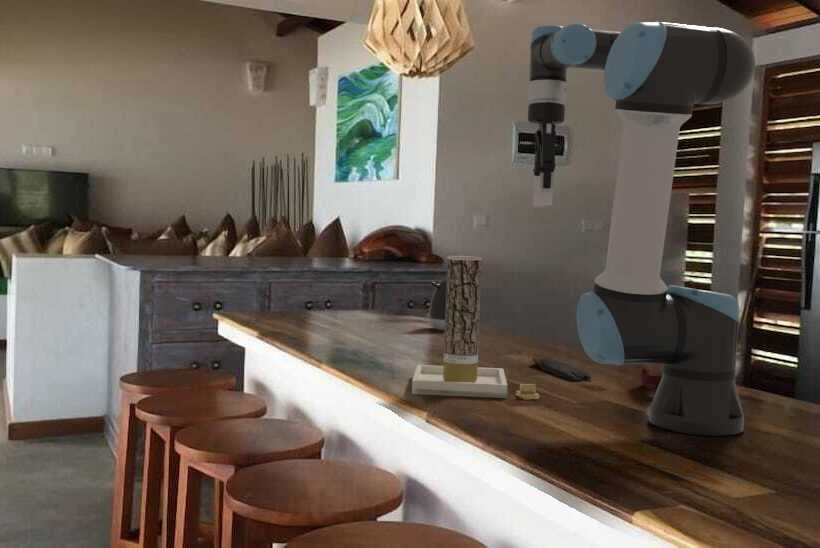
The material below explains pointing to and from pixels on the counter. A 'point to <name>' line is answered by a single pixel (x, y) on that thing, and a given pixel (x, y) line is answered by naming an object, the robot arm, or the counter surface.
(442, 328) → the pump dispenser
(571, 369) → the wood
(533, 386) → the tan short block
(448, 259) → the paper tube
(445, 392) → the ceramic dish
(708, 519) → the counter surface
